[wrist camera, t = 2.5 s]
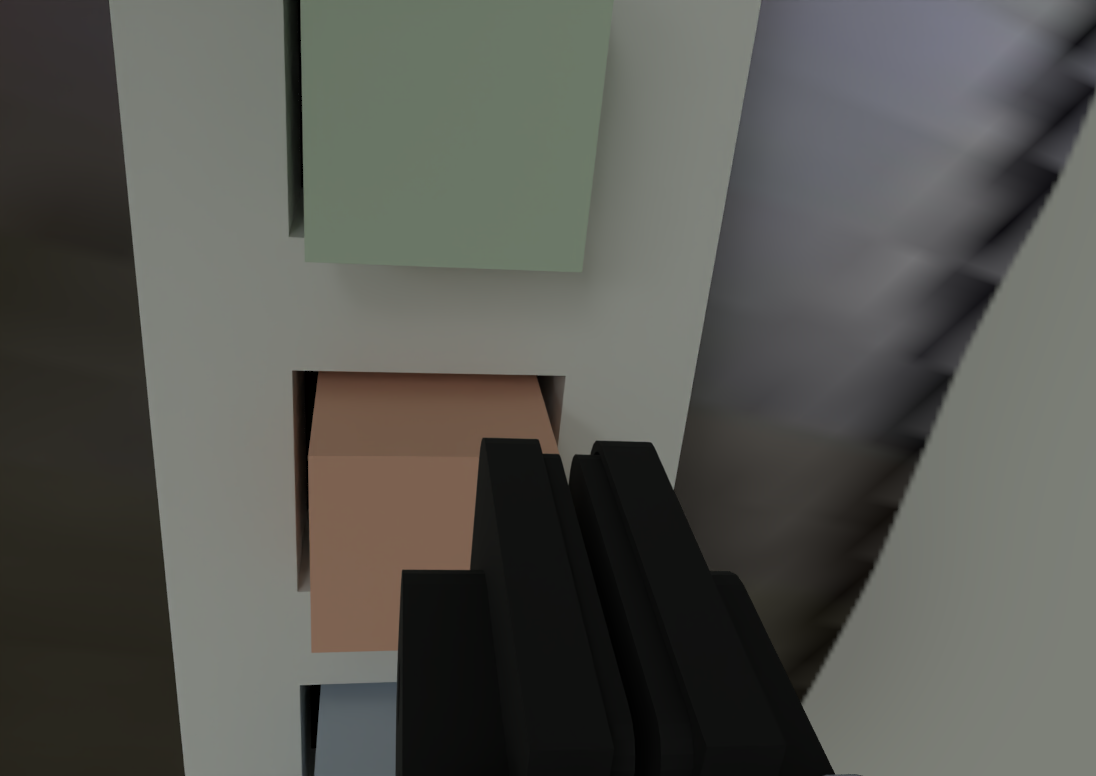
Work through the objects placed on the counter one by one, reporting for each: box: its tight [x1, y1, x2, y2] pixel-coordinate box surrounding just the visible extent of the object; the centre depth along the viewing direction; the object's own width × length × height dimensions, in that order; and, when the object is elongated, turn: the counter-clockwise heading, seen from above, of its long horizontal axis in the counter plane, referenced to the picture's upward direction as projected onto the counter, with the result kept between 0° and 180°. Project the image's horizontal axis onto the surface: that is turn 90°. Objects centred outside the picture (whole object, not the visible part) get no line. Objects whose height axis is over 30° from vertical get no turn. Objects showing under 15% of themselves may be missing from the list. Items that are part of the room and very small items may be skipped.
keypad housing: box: [109, 0, 761, 776], centre depth 25 cm, size 30×12×4 cm, turn 175°
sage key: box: [300, 0, 614, 272], centre depth 19 cm, size 5×5×4 cm
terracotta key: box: [308, 371, 559, 653], centre depth 23 cm, size 5×5×4 cm
